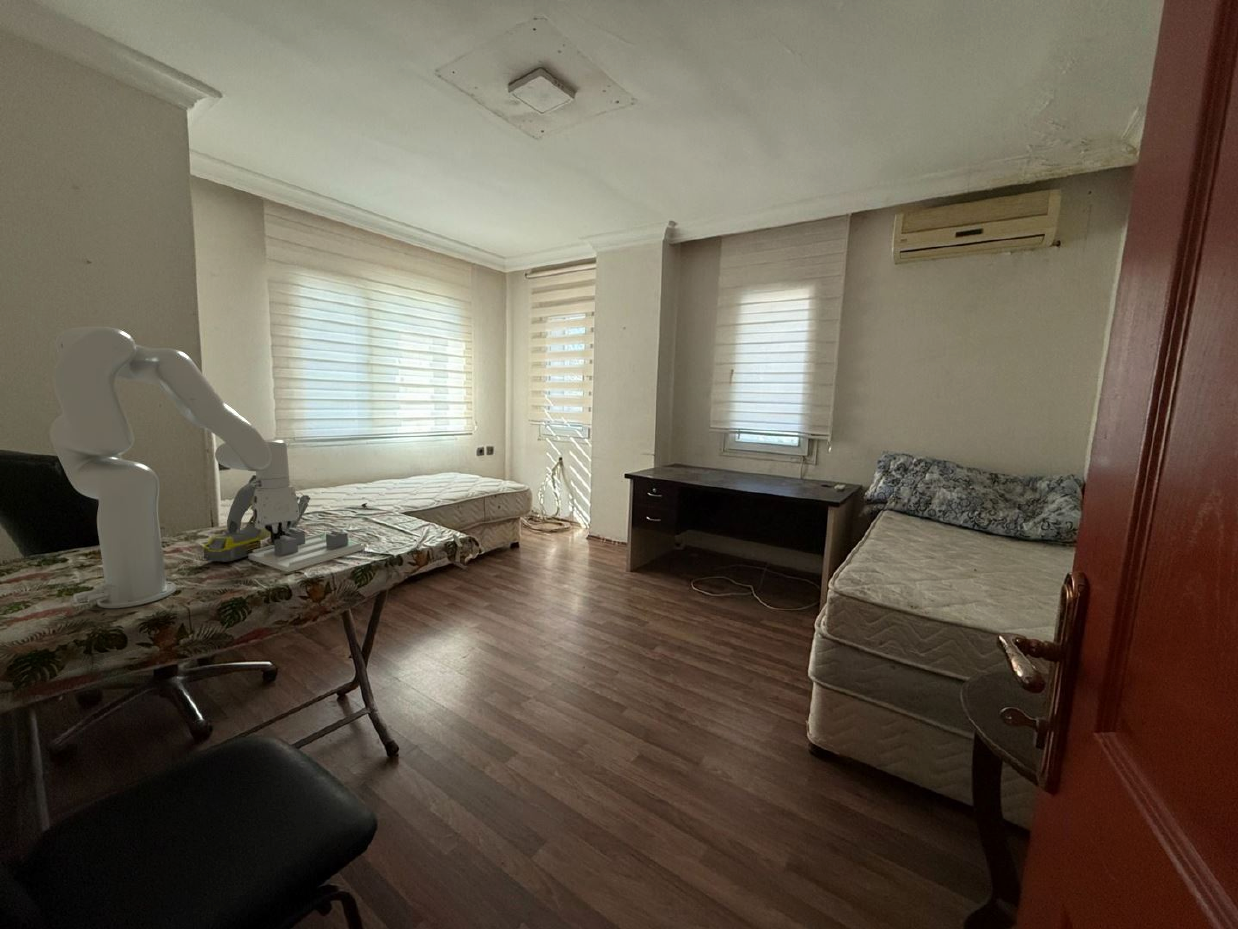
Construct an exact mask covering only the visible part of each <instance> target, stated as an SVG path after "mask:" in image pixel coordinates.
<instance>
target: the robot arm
mask: <svg viewBox="0 0 1238 929" xmlns="http://www.w3.org/2000/svg"><path fill="white" fill-rule="evenodd" d="M54 346H55V349H56V352H57V353H58V355H59V356H60V357H59V359H58V361H57V362H56V364H55V367H54V370H53V374H52V383H53V388H54V392H55V396H56V398H57V399H58V400H57V401H58V403H59V406H60V408H61V412H62V414H60V416H58V417H56V418H55V420H54V421H53V422H52V424H51V425H50V429H49V436H50V442H51V444H52V446H53V449H54V451H55V453H56V455H57V457H58V460H59V462H60V464H61V466H62V468H63V470H64V473H65V475H66V477H67V479H68V481H69V483H70V484H71V485H72V487H73V489H75V491H76V492H78V493H79V494H81V495H83V496H85V497H87V498H90V499H95V500H98V507H97V513H96V514H97V515H96V525H97V534H98V541H99V549H100V554H101V560H102V561H101V562H102V570H103V577H104V581H101V582H99V586H97V587H94V589H93V590H86V591H82V592H77V593H73V601H74V603H76V604H77V603H81V602H86V601H87V602H88V603H91V602H95V601H96V603H97V605H98V607H100V608H105V609H120V608H129V607H137V606H141V605H145V604H149V603H152V602H155V601H158V600H161V599H164V598H166V597H168V596H170V595H172V594H173V593H174V592H176V590H177V586H176V584H177V583H175V582H172V581H167V579H166V571H165V563H164V561H165V560H164V553H163V545H162V536H161V530H160V529H161V527H160V519H159V497H160V481H159V478H158V476H157V474H156V473H155V471H154V470H153V469H151V467H149V466H147V465H145V464H143V463H141V462H137V461H134V460H128V459H123V458H122V455H123V454H124V453H127V452H128V451H130V449H131V448H132V447H133V445H134V443H135V434H134V431H133V428H132V427H131V423H130V421H129V419H128V416H127V414H126V412H125V409H124V407H123V404H122V402H121V399H120V396H119V394H118V390H117V379H118V378H121V379H125V380H130V381H135V382H138V383H143V384H150V385H157V386H158V387H159V388H160V389H161V391H162V393H164V395H165V396H166V397H167V398H168V399H169V400H170V401H171V403H172V404H173V406H175V408H176V409H177V410H178V411H179V412H180V413H181V415H182V416H183V417H184V418H185V419H186V420H187V421H189V422H190V423H192V424H194V425H196V426H198V427H199V428H202V429H204V430H206V431H208V432H210V433H211V434H213V435H215V436H217V438H219V439H221V440H222V441H223V443H221V444H220V445H218V447H217V448H216V449H215V452H214V456H215V457H214V458H215V460H216V462H217V463H218V464H220V465H221V466H223V467H225V468H227V469H232V470H240V471H246V472H247V471H248V472H255V475H256V481H255V482H252V483H251V485H252V486H253V487H254V486H256V487H257V489H255V492H254V498H253V511H252V515H253V518H254V522H256V523H254V522H253V523H254V524H255V528H256V529H266V530H267V531H269V532H270V534H271V541H270V542H271V544H272V545H274V540H276V539H280V536H283V535H285V531H286V530H287V527H288V526H289V525H290V524H291V523H293V522H296V521H297V520H298V517H299V507H298V503H299V500H298V501H297V494H296V493H297V492H296V490H295V488H294V485H291V482H290V470H289V469H290V468H289V460H288V459H289V458H288V457H289V456H288V446H287V445H288V444H287V443H286V441H285V440H282V439H277V438H276V439H273V438H270V439H265V438H263V436H262V435H261V433H259V431H258V430H257V429H256V428H255V427H254V426H253V424H252V423H250V422H249V421H248V420H246V419H245V418H244V417H243V416H242V415H240V414H239V413H238V412H237V411H236V410H234V409H233V408H232V407H231V406H229V405H228V404H227V403H225V402H224V400H223V399H222V398H221V396H220V395H219V394H218V392H217V391H216V390H215V389H214V387H213V386H212V385H211V383H210V382H209V381H208V379H207V378H206V377H205V376H204V373H203V372H202V371H201V370H200V369H199V367H198V366H197V365H196V364H195V362H194V361H193V360H192V358H191V357H189V356H188V355H187V354H186V353H185V352H183V351H181V350H178V349H175V348H168V347H167V348H164V347H163V348H162V347H161V348H160V347H157V348H156V347H155V348H154V347H153V348H152V347H147V346H143V345H139V344H136V342H135V340H134V339H133V338H132V336H131V335H129V334H128V333H127V332H125V331H123V330H121V329H119V328H115V327H111V326H82V327H79V326H77V327H73V328H72V327H71V328H68V329H65V330H63V331H62V332H60V333H59V334H58V335H57V337H56V339H55V342H54ZM276 524H277V525H276Z"/></svg>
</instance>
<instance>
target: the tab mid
mask: <svg viewBox="0 0 1238 929" xmlns="http://www.w3.org/2000/svg"><path fill="white" fill-rule="evenodd" d="M274 550H275V556H278V557H282V556H286V555H290V554H293V553H297V552H298V542H297V539H296V538H293V537H288V536H285V535H283V536H280V539H276V540H274Z"/></svg>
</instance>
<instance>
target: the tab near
mask: <svg viewBox="0 0 1238 929" xmlns="http://www.w3.org/2000/svg"><path fill="white" fill-rule="evenodd" d="M325 535H326V546H327V549H330V550H334V549H338V548H341V547H345V546H348V539H349V537H348V536H349V535H348V532H345V531H342V530H338V529H332V530H331V532H329V533H328V532H327V533H325Z"/></svg>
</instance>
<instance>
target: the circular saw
mask: <svg viewBox="0 0 1238 929" xmlns="http://www.w3.org/2000/svg"><path fill="white" fill-rule="evenodd" d="M255 481H256V474H255V475H253V474H252V476H251V478H250V479H249V480H248V483H246V484H245V485H244V486H241V488H240V489H239V490H238V491H237V493H236V494H235V497H234V499H233V501H232V504H231V506H230V509H229V512H228V515H227V520H226V526H227V527H226V528H227V531H226V532H225V533H221V534H217V535H215V536H214V537H211V538H210V539H209V540H208V541H207V543H206V544H205V545H204V547H203V555H204V556H203V557H204V559H205V561H210V562H212V561H213V562H224V563H225V562H232V561H235V560H239V559H242V558H246V557H249V556H248V554H250V553H253V552H252V550H255V549H259V548H262V546H261V545H262V544H261V541H262V540H265V539H268V538H269V540H268V541H269V542H271V534H270V532H269V531H267V530H266V529H256V528H255V523H256V522H254V518H253V514H252V515H251V517H250V519H249V520H248V521H247V523H246V525H245V527H243V528H241V526H242V520H243V517H244V515H245V514H246V512H248V510H252V512H253V498H254V492H255V489H257V487H256V486H254V487H253V486H252V485H251V483H252V482H255ZM295 493H296V496H297V494H300V495H301V496H297V501H298V507H299V517H298V520H297V521H296V522H293V523H291V524H290V525H289V526H288V527H287V530H286V531H289V529H288V528H296V529H297V526H298V525H299V523H300V521H301V520H302V517H303V516H304V514H305V512H306V511H307V508H308V507H309V503H310V501H311V497H310V496H309V495H308V494H305V495H304V494H303V493H301V492H295ZM276 525H277V524H276Z"/></svg>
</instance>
